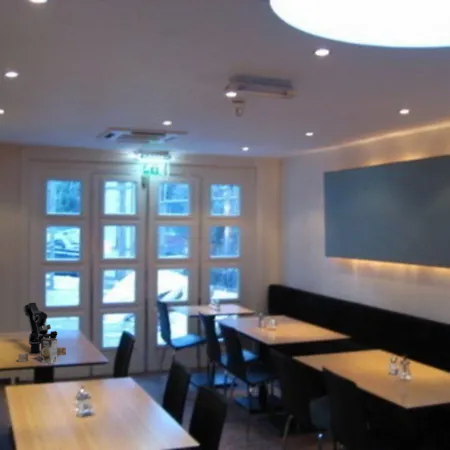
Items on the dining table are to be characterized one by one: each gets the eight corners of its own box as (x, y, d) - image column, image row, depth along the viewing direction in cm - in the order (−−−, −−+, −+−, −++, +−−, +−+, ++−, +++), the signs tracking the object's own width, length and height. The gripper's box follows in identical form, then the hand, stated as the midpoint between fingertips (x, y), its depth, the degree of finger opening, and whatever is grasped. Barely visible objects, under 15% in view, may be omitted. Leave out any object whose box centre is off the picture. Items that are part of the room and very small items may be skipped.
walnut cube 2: (61, 353, 437) (61, 346, 436) (65, 354, 434) (65, 347, 434) (55, 355, 432) (55, 347, 432) (60, 356, 430) (60, 348, 429)
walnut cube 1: (20, 360, 415) (20, 353, 415) (28, 360, 415) (28, 353, 415) (18, 362, 410) (18, 354, 410) (25, 362, 410) (25, 354, 410)
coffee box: (40, 362, 410) (40, 339, 409) (46, 360, 415) (46, 337, 415) (51, 363, 406) (51, 340, 406) (57, 361, 412) (57, 338, 412)
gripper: (29, 322, 417) (33, 340, 408) (56, 319, 427) (61, 337, 418) (27, 331, 424) (31, 350, 415) (53, 329, 434) (57, 347, 425)
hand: (45, 346), depth 418 cm, fingers closed
